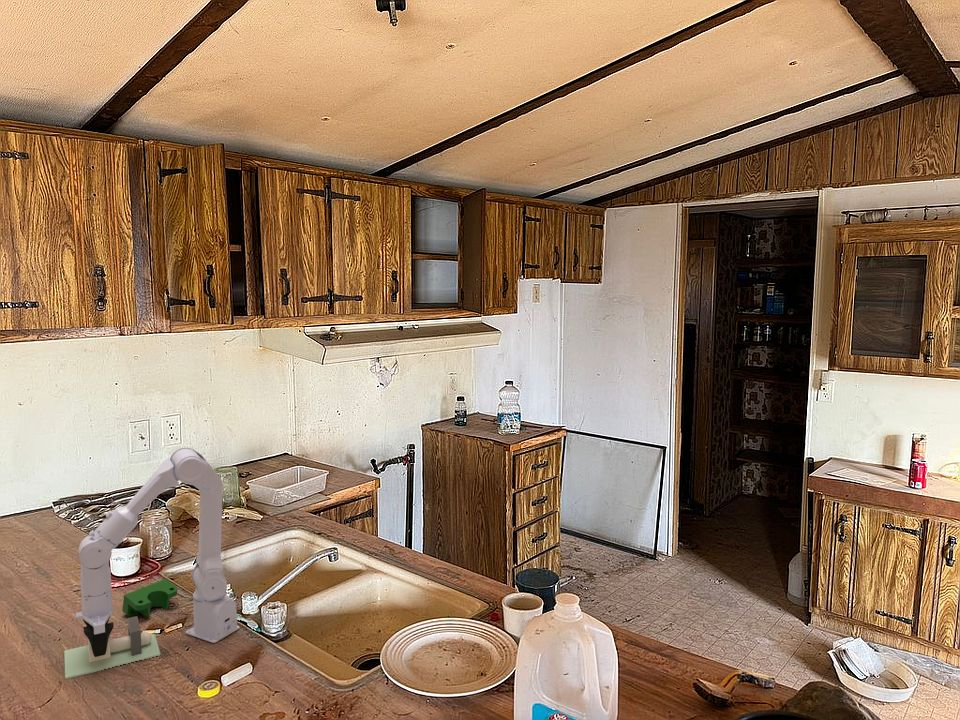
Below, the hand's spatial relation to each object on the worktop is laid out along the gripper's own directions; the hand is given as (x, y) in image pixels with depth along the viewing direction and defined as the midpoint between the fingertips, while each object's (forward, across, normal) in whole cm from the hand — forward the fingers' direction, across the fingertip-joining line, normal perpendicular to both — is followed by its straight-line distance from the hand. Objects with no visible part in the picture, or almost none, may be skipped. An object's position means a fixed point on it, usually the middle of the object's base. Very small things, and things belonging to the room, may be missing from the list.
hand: (99, 650), depth 149 cm
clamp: (+2, -17, +12) cm, 21 cm away
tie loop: (+1, 0, +7) cm, 7 cm away
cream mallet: (+1, 0, +4) cm, 4 cm away
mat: (+2, 0, +2) cm, 3 cm away
